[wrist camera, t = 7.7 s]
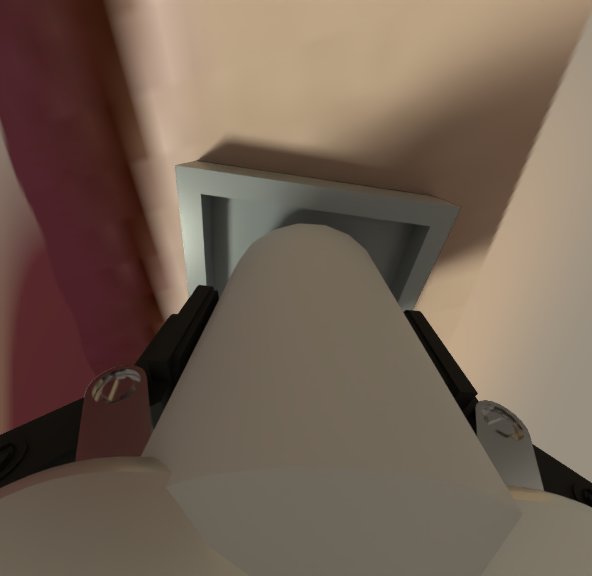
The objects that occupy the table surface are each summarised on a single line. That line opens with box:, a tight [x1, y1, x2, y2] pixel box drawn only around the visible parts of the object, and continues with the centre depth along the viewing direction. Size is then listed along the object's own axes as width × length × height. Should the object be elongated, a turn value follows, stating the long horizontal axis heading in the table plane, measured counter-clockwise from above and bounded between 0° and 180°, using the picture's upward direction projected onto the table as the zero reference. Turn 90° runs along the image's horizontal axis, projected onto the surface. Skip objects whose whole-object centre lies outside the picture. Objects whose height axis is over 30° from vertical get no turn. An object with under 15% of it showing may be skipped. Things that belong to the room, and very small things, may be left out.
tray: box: [175, 161, 461, 312], centre depth 17 cm, size 22×12×2 cm, turn 172°
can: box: [141, 223, 522, 576], centre depth 8 cm, size 8×8×12 cm
